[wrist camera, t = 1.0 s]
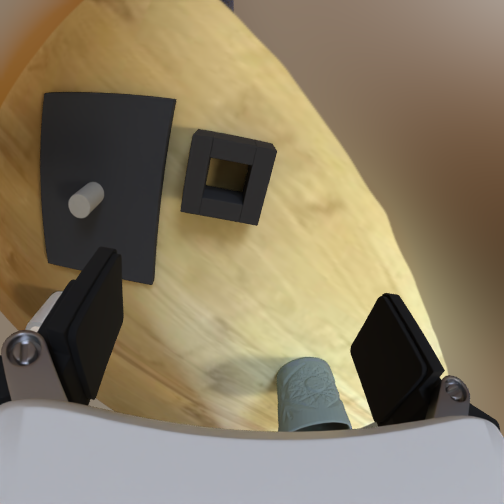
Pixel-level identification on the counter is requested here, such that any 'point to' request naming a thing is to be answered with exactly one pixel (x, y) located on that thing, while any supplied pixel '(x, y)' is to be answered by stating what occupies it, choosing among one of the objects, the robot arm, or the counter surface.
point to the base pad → (103, 177)
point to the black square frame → (219, 199)
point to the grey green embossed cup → (309, 398)
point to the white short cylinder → (42, 313)
